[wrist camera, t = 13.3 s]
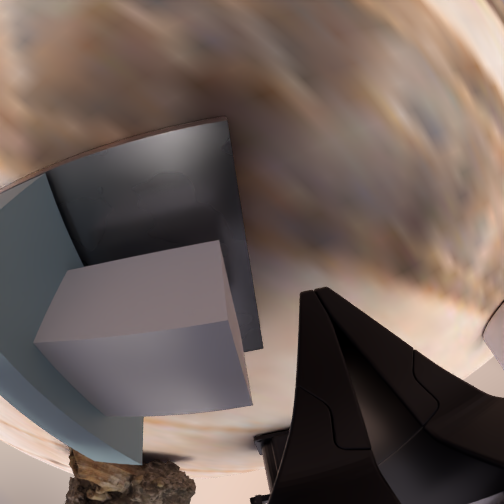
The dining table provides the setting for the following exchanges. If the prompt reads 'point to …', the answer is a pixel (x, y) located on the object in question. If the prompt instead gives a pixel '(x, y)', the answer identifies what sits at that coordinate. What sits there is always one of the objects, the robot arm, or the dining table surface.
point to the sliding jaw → (110, 332)
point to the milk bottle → (496, 335)
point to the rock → (127, 482)
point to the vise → (159, 203)
